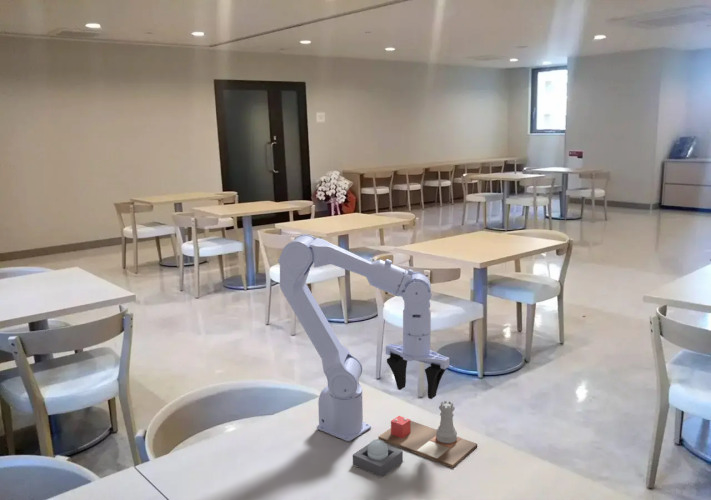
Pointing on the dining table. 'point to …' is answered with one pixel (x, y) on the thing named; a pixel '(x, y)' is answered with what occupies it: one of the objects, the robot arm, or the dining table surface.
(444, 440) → the rook chess piece
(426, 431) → the game board
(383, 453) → the dome button
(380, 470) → the dome housing
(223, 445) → the dining table surface
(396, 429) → the red die
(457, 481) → the dining table surface
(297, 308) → the robot arm
